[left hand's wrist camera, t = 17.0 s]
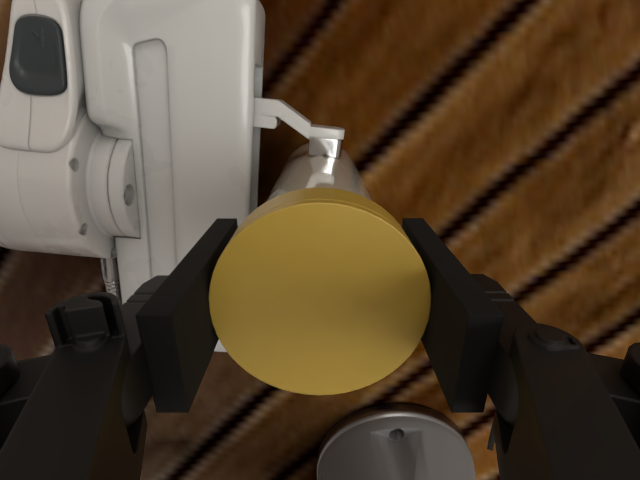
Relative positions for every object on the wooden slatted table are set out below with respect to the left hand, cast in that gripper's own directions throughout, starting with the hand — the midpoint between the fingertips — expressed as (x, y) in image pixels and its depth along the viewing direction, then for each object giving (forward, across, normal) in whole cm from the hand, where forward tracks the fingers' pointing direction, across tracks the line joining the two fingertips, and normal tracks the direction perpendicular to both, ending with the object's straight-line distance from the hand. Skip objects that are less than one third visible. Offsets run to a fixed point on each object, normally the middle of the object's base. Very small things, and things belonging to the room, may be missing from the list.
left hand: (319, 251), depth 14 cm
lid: (-4, 0, 0) cm, 4 cm away
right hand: (+7, -1, 0) cm, 7 cm away
